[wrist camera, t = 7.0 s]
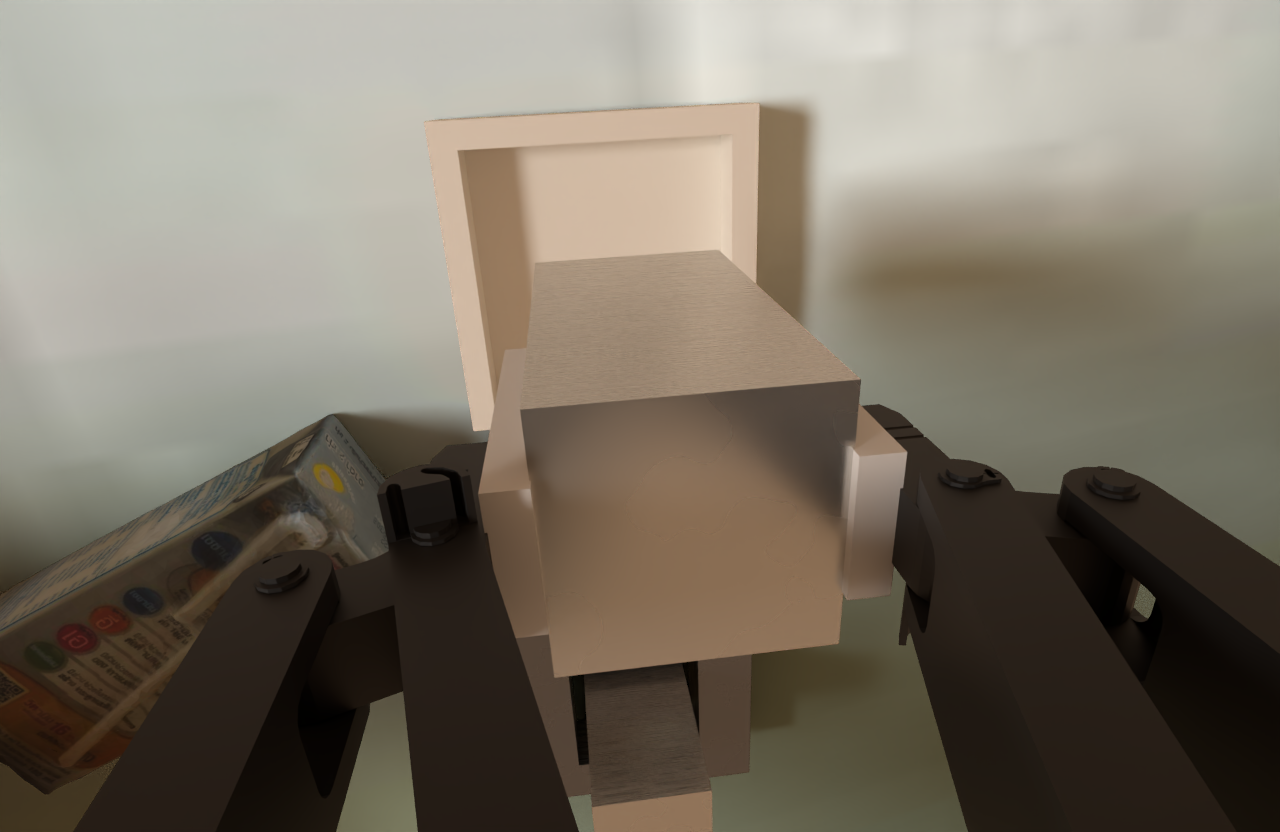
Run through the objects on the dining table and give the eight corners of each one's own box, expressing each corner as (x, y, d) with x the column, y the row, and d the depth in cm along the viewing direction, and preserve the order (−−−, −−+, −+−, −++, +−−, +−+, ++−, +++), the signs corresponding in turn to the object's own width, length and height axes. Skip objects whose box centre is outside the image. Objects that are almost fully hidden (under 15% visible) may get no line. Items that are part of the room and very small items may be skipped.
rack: (532, 755, 41) (531, 802, 39) (485, 446, 33) (479, 477, 30) (736, 728, 42) (749, 772, 40) (739, 422, 34) (755, 450, 31)
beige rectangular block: (589, 708, 40) (600, 885, 31) (581, 639, 38) (591, 807, 29) (676, 697, 41) (712, 868, 32) (673, 628, 39) (712, 790, 30)
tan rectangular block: (553, 430, 21) (554, 677, 12) (535, 262, 19) (520, 409, 10) (719, 415, 22) (838, 643, 13) (718, 249, 20) (860, 379, 11)
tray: (478, 406, 32) (473, 431, 30) (434, 120, 27) (424, 121, 25) (739, 383, 33) (753, 405, 31) (741, 102, 28) (759, 103, 26)
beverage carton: (438, 534, 35) (416, 624, 29) (119, 699, 37) (35, 816, 31) (337, 404, 32) (288, 476, 26) (-9, 592, 34) (-130, 700, 28)
